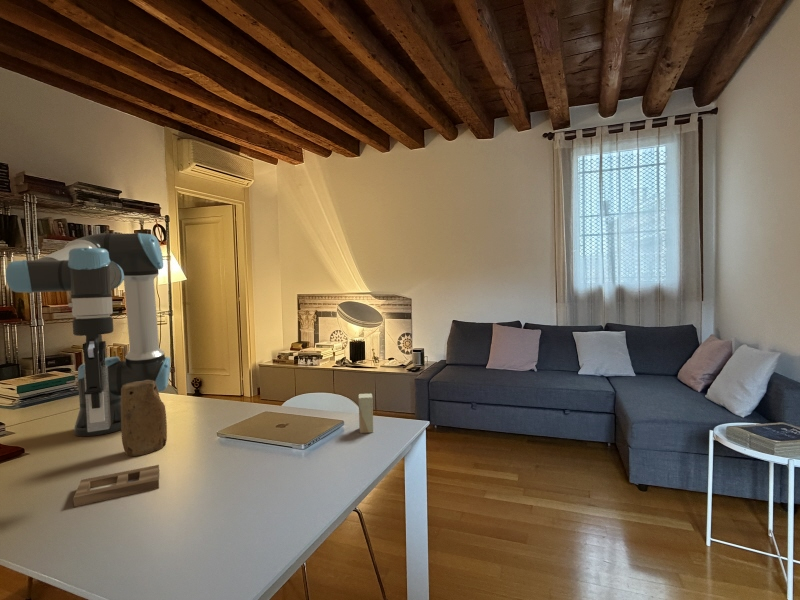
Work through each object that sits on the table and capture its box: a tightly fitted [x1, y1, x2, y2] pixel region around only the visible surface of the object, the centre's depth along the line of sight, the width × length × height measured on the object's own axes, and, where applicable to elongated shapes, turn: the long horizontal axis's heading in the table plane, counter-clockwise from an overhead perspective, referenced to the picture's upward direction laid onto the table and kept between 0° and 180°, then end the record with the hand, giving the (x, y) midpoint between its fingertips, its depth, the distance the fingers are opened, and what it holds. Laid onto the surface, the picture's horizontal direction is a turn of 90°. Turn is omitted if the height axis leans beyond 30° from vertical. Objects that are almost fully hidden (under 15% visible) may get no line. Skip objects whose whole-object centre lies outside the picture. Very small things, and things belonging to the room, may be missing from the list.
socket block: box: [73, 464, 160, 508], centre depth 103 cm, size 10×16×2 cm, turn 118°
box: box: [358, 393, 374, 434], centre depth 137 cm, size 5×4×11 cm
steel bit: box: [84, 365, 111, 432], centre depth 100 cm, size 4×4×14 cm
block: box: [120, 380, 168, 457], centre depth 126 cm, size 11×8×20 cm
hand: (98, 418), depth 100 cm, fingers closed on steel bit, 4 cm apart
